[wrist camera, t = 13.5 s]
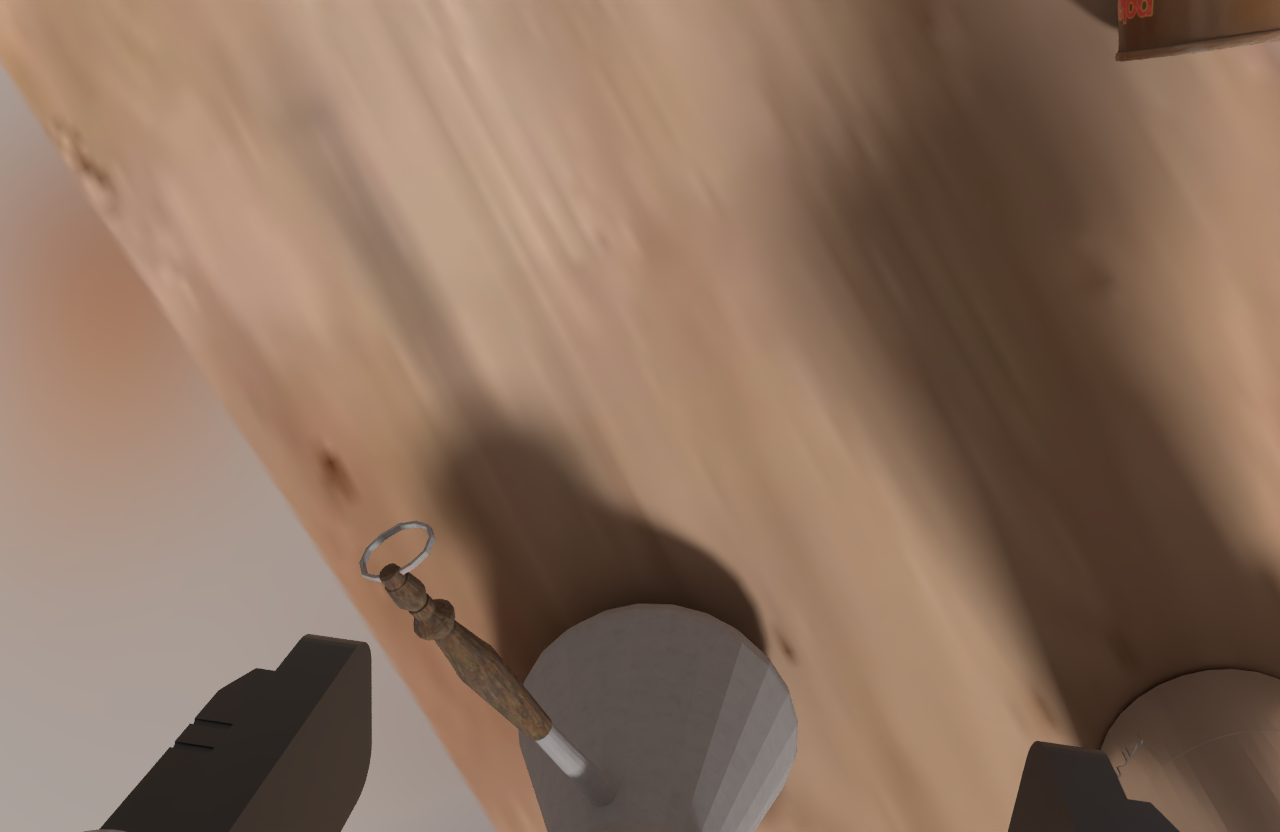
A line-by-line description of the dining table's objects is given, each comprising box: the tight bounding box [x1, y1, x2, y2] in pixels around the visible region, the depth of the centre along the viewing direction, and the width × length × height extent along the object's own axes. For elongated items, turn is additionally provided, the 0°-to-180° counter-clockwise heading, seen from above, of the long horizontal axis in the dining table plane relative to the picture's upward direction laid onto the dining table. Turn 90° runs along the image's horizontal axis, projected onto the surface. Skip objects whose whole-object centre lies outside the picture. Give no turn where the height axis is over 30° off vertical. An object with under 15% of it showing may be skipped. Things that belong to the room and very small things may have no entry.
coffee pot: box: [359, 521, 798, 832], centre depth 38 cm, size 21×12×15 cm, turn 24°
